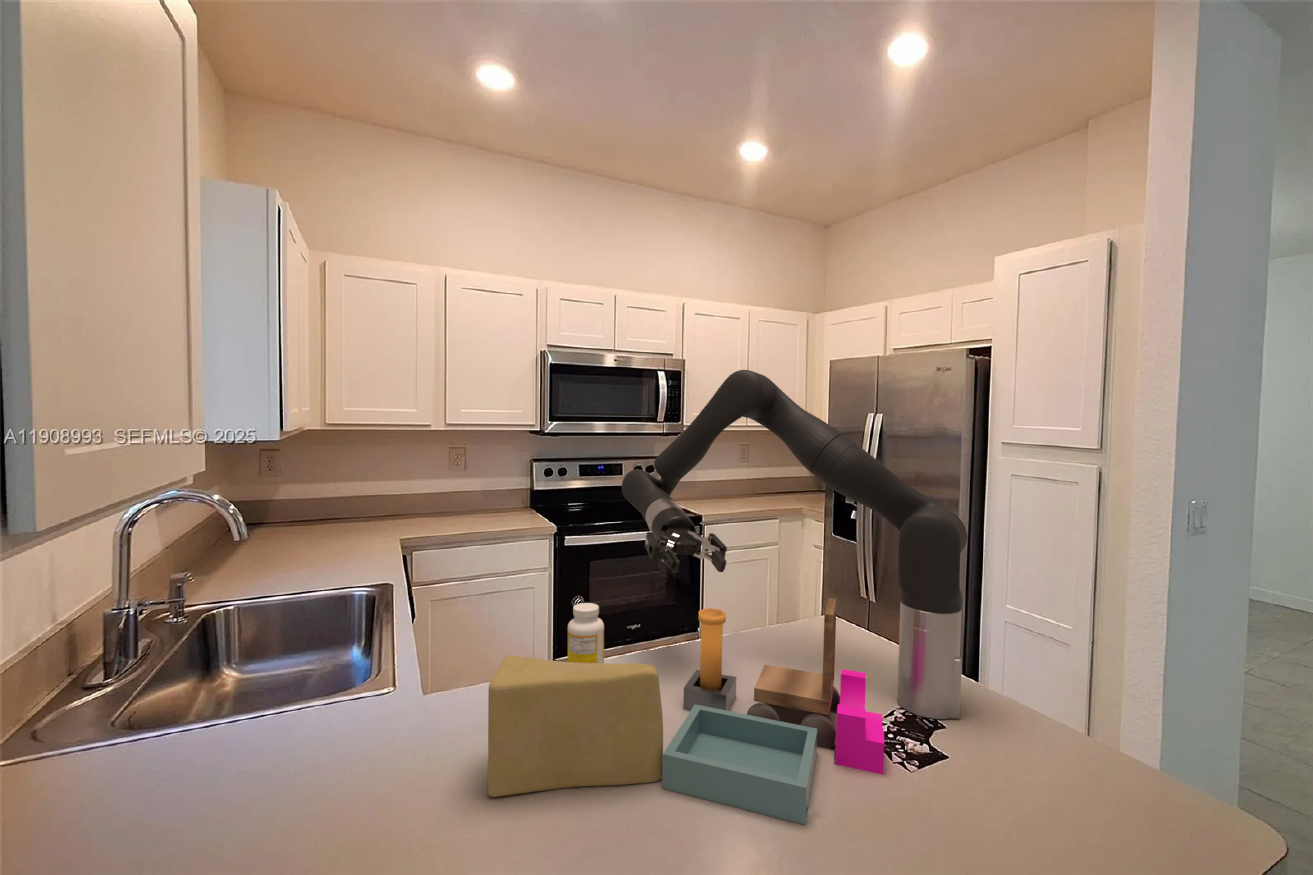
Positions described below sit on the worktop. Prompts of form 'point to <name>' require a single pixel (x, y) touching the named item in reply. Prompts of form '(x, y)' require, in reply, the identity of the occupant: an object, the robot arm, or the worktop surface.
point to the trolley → (803, 688)
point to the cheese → (572, 725)
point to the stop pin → (711, 648)
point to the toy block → (858, 727)
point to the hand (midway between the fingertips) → (700, 567)
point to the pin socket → (710, 693)
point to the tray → (743, 762)
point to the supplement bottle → (586, 635)
